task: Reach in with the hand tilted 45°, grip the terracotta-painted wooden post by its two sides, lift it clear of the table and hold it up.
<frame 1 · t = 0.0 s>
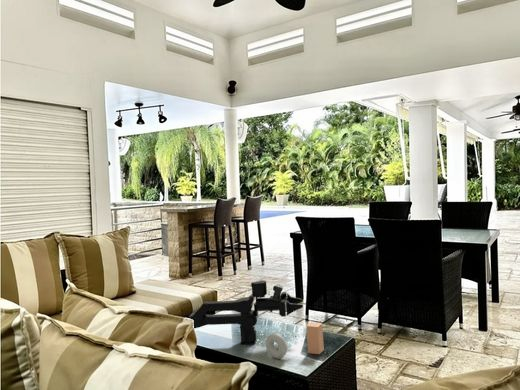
hand: (302, 303, 178), 17 cm above the table, tool horizontal, fingers open, 9 cm apart
donut: (277, 358, 161), on the table
post: (316, 351, 165), on the table
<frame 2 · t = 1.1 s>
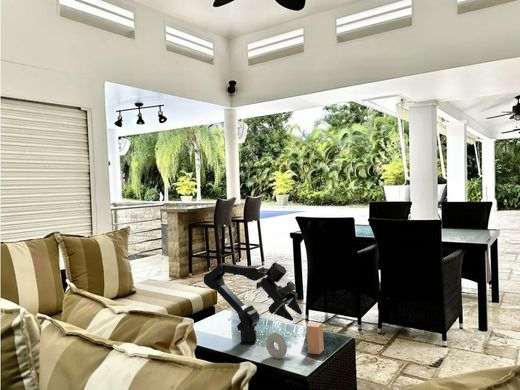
hand: (297, 316, 169), 13 cm above the table, tool tilted 45°, fingers open, 9 cm apart
nothing on the table moved.
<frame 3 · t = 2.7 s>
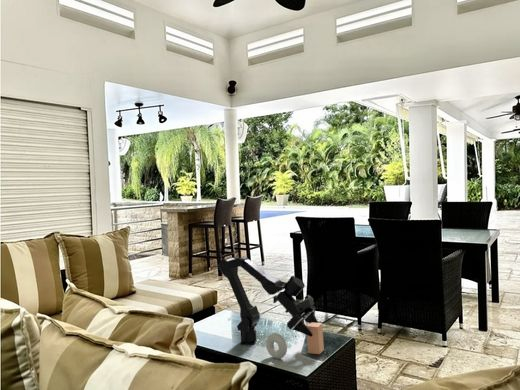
hand: (316, 332, 165), 8 cm above the table, tool tilted 45°, fingers open, 9 cm apart
nothing on the table moved.
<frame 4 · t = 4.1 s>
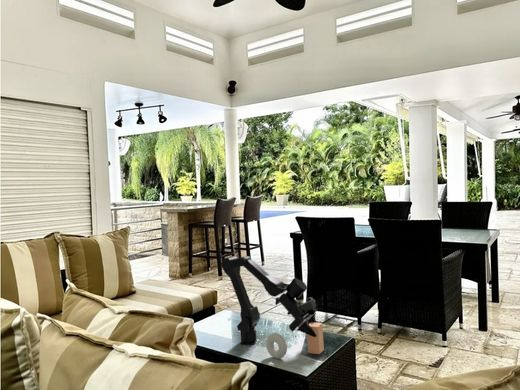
hand: (318, 334, 165), 7 cm above the table, tool tilted 45°, fingers closed on post, 5 cm apart
post: (316, 351, 165), on the table, touching gripper
everything else where it was.
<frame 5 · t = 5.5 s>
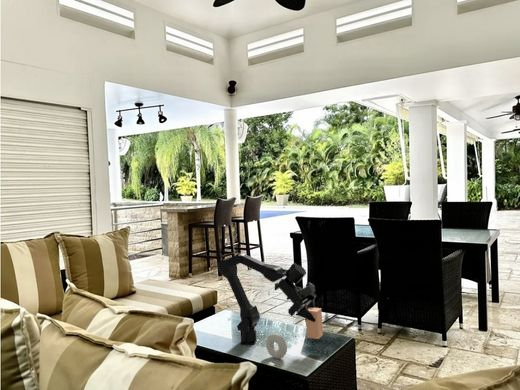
hand: (317, 319, 165), 13 cm above the table, tool tilted 45°, fingers closed on post, 5 cm apart
post: (315, 336, 165), point 6 cm above the table, touching gripper
everything else where it was.
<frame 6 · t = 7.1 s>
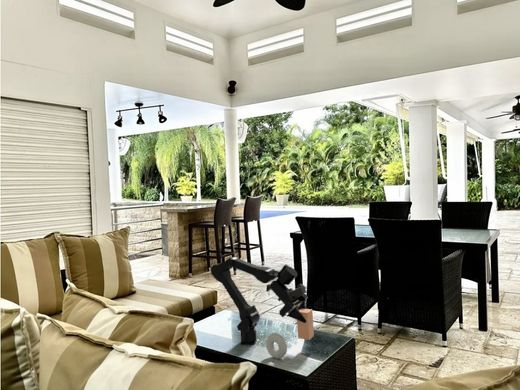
hand: (308, 320, 167), 12 cm above the table, tool tilted 45°, fingers closed on post, 5 cm apart
post: (306, 337, 167), point 5 cm above the table, touching gripper
everything else where it was.
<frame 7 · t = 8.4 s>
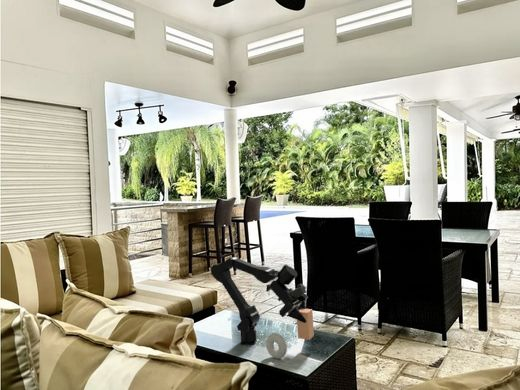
hand: (308, 320, 167), 12 cm above the table, tool tilted 45°, fingers closed on post, 5 cm apart
post: (306, 337, 167), point 5 cm above the table, touching gripper
everything else where it was.
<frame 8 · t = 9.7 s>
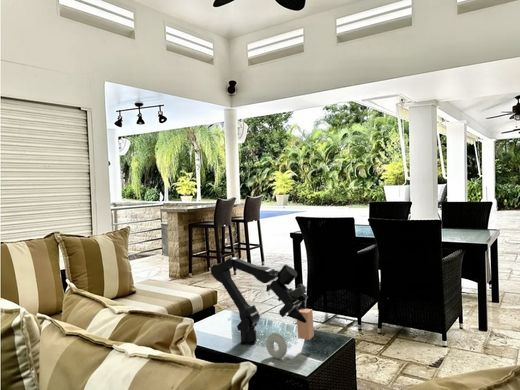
hand: (308, 320, 167), 12 cm above the table, tool tilted 45°, fingers closed on post, 5 cm apart
post: (306, 337, 167), point 5 cm above the table, touching gripper
everything else where it was.
at the end: the gripper is holding post; post point 5.4 cm above the table; post tilted 0° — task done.
